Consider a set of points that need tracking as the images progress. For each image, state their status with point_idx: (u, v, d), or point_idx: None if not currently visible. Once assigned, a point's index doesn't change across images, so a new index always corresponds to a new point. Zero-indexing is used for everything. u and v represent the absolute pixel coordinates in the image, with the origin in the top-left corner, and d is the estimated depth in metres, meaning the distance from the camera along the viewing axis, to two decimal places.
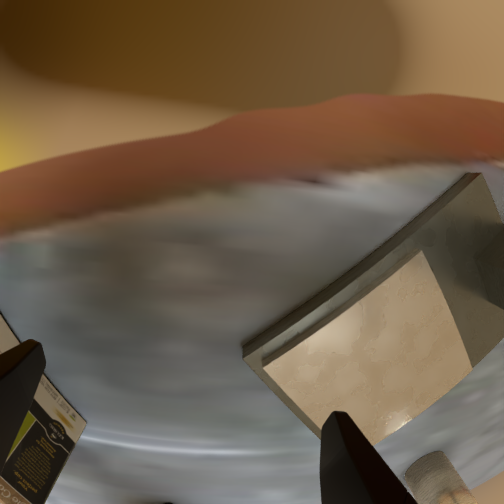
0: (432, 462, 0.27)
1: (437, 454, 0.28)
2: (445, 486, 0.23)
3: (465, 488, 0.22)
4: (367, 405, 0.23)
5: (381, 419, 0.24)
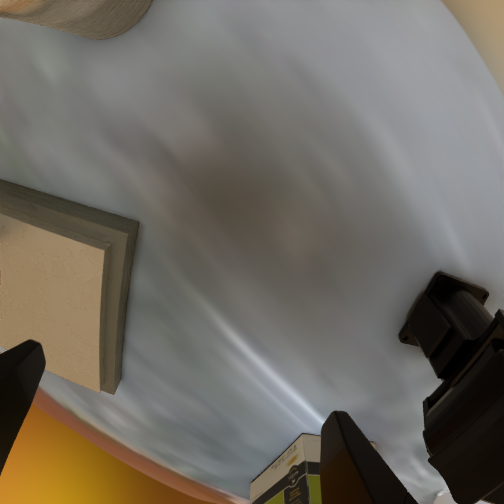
0: None
1: None
2: None
3: None
4: (48, 297, 0.19)
5: (45, 265, 0.18)
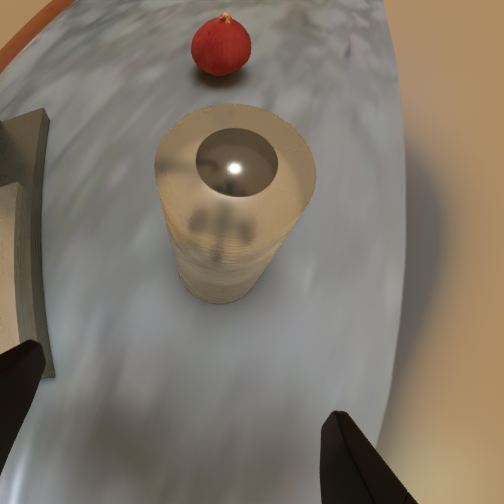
0: None
1: None
2: None
3: None
4: None
5: None
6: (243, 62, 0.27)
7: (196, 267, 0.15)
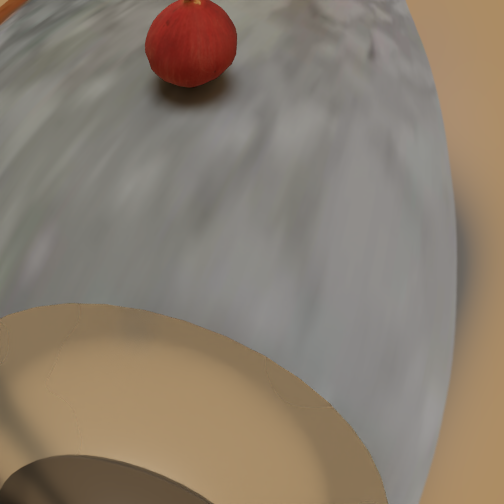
0: None
1: None
2: None
3: None
4: None
5: None
6: (224, 66, 0.17)
7: None
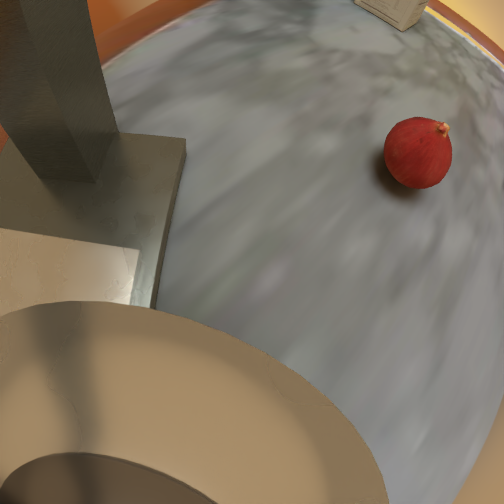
0: None
1: None
2: None
3: None
4: None
5: None
6: (435, 184, 0.23)
7: None
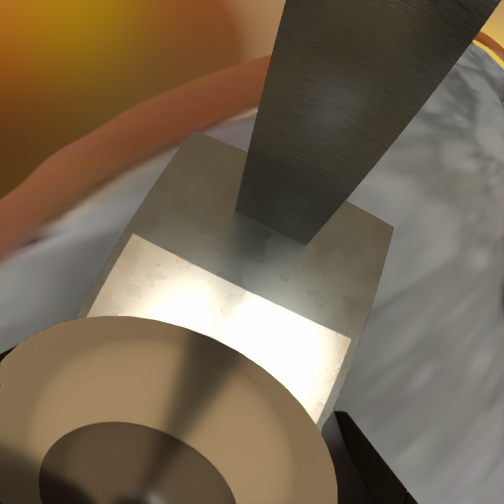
0: None
1: None
2: None
3: None
4: None
5: None
6: None
7: None
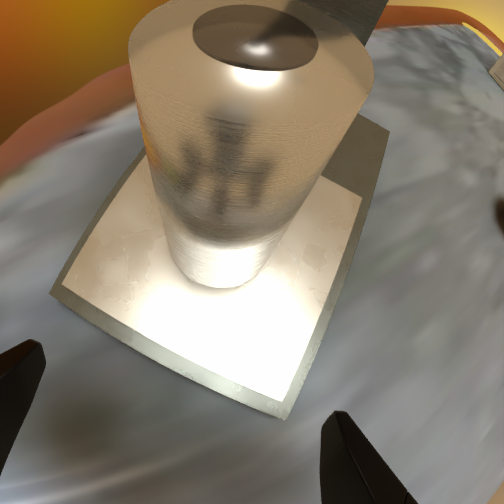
0: None
1: None
2: None
3: None
4: (228, 291, 0.18)
5: (272, 308, 0.18)
6: None
7: (189, 217, 0.10)
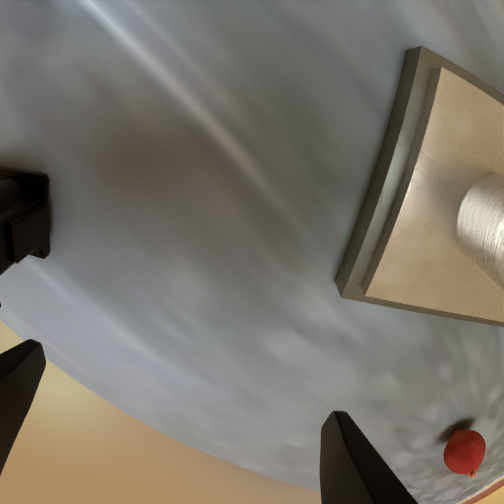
0: None
1: None
2: None
3: None
4: (454, 234, 0.17)
5: (440, 272, 0.18)
6: (444, 458, 0.29)
7: None
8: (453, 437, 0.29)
